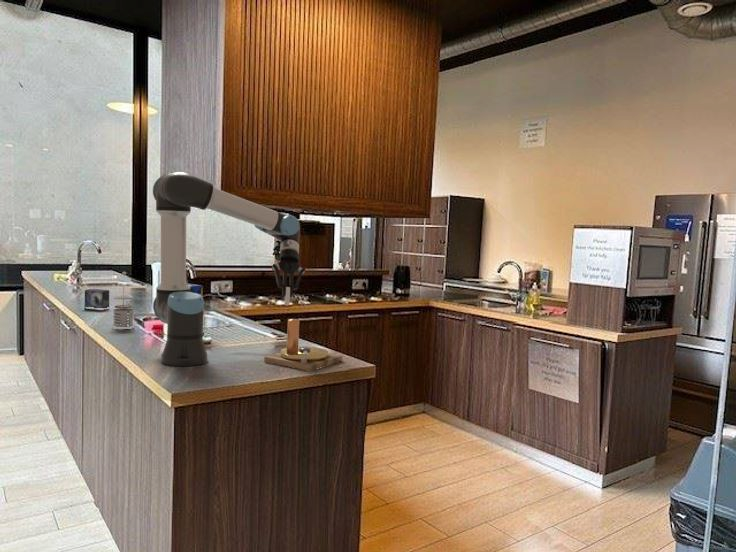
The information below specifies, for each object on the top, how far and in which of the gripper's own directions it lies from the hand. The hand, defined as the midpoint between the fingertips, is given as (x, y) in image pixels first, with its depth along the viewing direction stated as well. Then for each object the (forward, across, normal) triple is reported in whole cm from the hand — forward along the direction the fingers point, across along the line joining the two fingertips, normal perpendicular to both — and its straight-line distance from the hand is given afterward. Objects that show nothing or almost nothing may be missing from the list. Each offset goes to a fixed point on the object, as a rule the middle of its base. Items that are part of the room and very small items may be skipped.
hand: (286, 303), depth 204 cm
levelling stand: (+21, +8, +5) cm, 23 cm away
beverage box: (-5, -36, +42) cm, 56 cm away
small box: (-50, -86, +101) cm, 142 cm away
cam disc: (+19, +8, +4) cm, 21 cm away
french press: (-16, -63, +58) cm, 88 cm away
